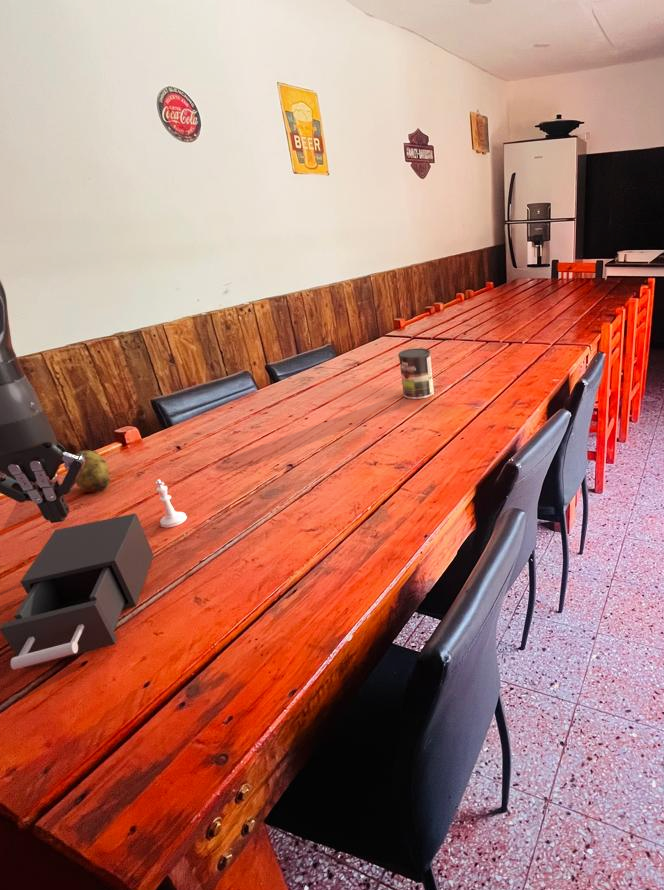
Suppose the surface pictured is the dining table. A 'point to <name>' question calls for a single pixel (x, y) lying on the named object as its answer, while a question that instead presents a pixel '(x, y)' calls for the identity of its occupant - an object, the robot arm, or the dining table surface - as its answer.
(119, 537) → the small drawer cabinet
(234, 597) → the dining table surface
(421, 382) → the coffee can
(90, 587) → the dark grey drawer
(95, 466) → the potato
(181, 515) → the chess piece
